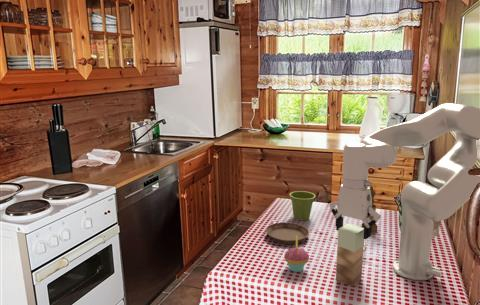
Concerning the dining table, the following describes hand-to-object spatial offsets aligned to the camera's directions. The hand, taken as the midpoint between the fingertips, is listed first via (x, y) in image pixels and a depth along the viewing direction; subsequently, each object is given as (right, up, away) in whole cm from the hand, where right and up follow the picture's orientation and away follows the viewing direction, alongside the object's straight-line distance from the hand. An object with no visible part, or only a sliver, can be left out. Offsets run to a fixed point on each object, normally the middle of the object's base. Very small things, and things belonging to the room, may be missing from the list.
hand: (352, 233), depth 125 cm
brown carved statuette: (+19, -7, +42) cm, 47 cm away
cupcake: (-17, -15, +10) cm, 24 cm away
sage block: (0, -4, +1) cm, 4 cm away
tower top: (0, -10, +2) cm, 10 cm away
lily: (+8, -11, +25) cm, 28 cm away
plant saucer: (-17, -9, +36) cm, 41 cm away
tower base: (0, -16, +3) cm, 16 cm away
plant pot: (-8, -5, +56) cm, 57 cm away
